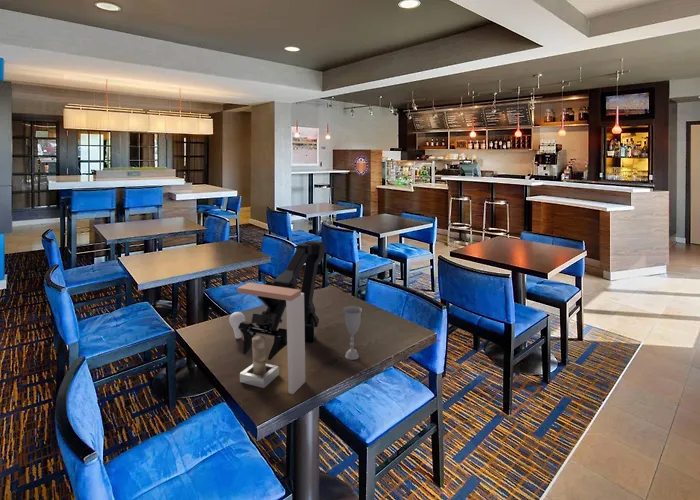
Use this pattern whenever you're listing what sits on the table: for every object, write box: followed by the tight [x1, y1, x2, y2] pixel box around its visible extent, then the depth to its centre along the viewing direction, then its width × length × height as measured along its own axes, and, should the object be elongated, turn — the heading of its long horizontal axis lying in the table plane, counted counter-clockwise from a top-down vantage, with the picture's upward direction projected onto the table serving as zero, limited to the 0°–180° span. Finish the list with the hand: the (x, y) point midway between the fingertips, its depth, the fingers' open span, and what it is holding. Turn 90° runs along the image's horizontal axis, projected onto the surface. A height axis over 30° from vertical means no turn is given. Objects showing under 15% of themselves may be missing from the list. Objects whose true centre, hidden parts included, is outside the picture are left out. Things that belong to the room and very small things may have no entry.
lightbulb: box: [228, 311, 246, 340], centre depth 169 cm, size 6×6×11 cm
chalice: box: [342, 305, 363, 360], centre depth 154 cm, size 7×7×18 cm
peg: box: [251, 335, 267, 376], centre depth 139 cm, size 4×4×14 cm
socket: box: [239, 363, 280, 389], centre depth 140 cm, size 9×9×3 cm
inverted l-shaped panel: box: [237, 282, 306, 395], centre depth 135 cm, size 8×19×32 cm, turn 67°
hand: (256, 357), depth 137 cm, fingers open, 9 cm apart
